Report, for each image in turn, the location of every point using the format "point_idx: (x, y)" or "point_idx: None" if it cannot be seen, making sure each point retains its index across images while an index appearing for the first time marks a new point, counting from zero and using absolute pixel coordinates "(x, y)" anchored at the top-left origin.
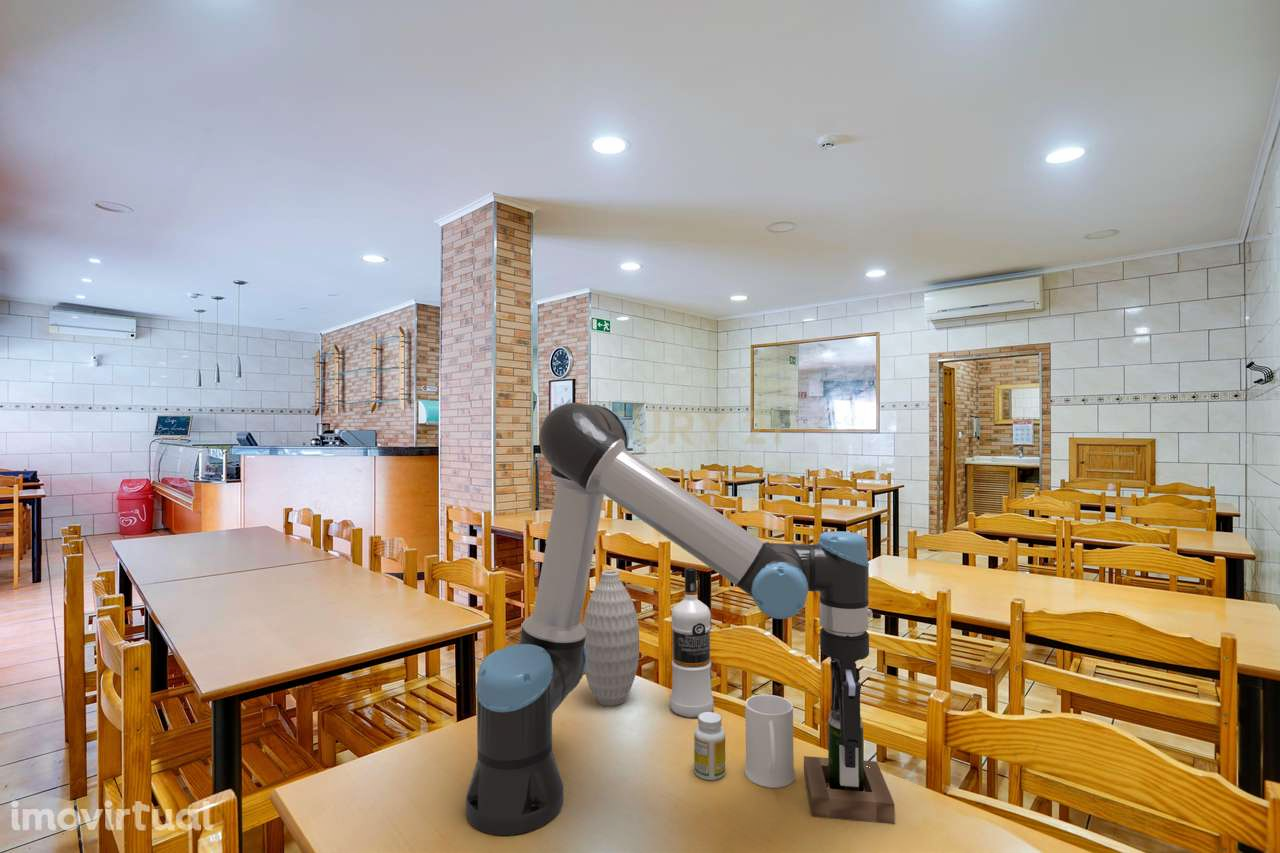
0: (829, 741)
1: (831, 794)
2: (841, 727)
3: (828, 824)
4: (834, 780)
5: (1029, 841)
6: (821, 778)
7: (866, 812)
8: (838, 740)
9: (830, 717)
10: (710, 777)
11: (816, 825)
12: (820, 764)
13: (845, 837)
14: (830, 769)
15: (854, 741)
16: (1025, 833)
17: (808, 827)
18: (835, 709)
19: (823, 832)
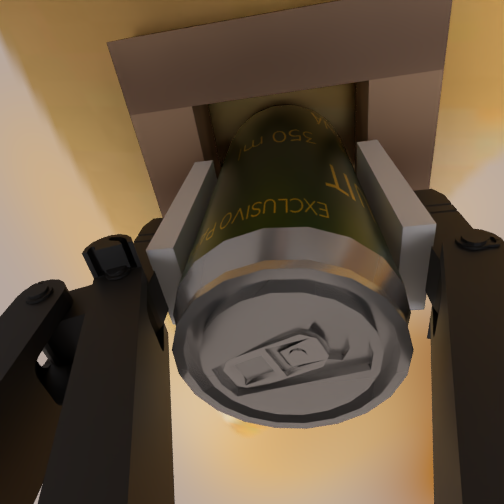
0: (255, 175)
1: (158, 123)
2: (85, 331)
3: (119, 95)
4: (237, 138)
5: (231, 427)
6: (259, 82)
7: None
8: (117, 256)
9: (249, 268)
10: None
11: (94, 55)
12: (377, 75)
13: (83, 144)
14: (253, 132)
15: (43, 351)
16: (252, 428)
17: (69, 25)
18: (447, 302)
19: (71, 79)
